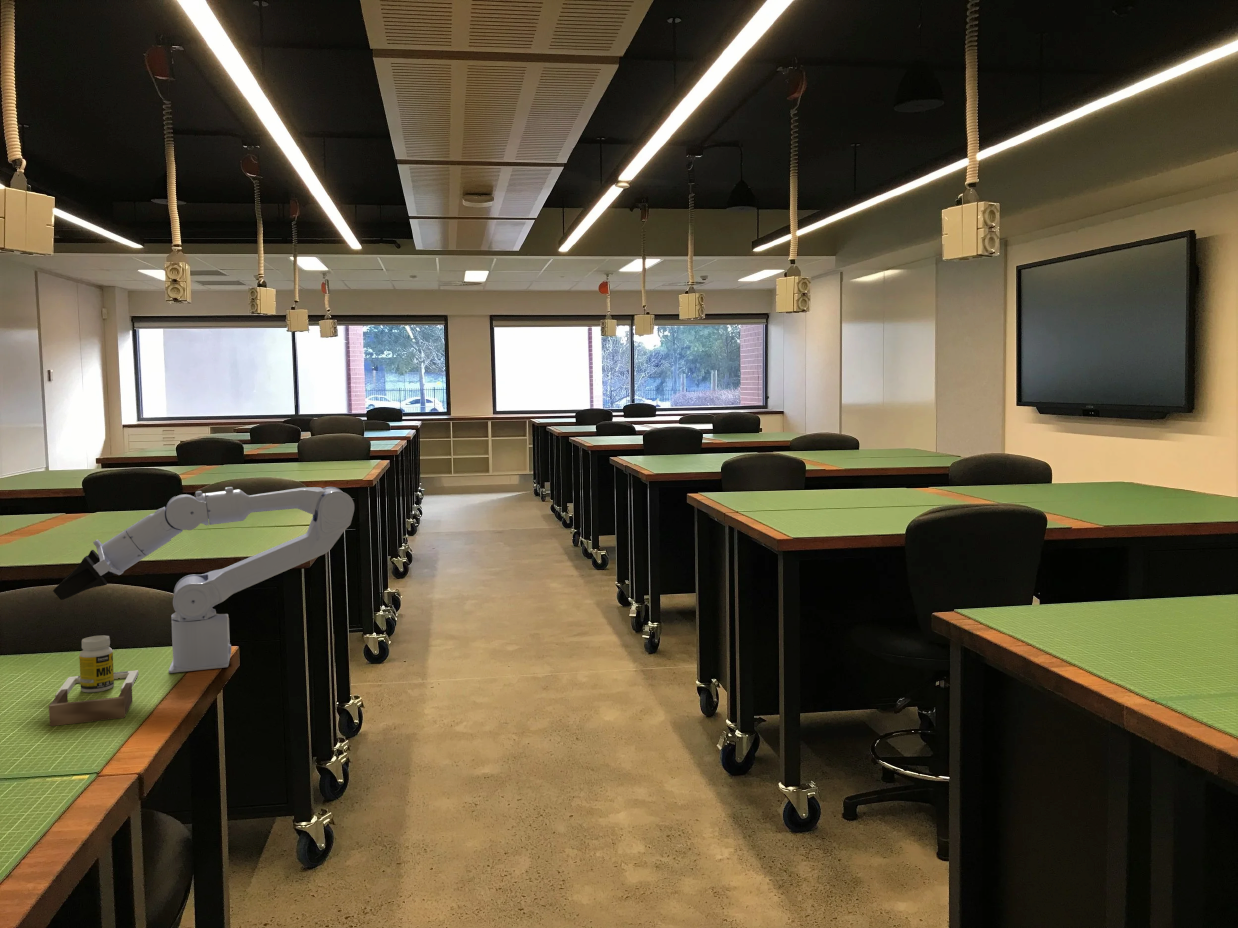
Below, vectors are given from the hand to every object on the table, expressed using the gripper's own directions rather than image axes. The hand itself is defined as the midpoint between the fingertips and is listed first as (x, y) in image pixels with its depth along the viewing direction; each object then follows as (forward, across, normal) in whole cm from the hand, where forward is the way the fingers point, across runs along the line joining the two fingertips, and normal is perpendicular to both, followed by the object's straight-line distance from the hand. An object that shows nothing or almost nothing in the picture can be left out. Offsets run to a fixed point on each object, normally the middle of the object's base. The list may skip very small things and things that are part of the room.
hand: (60, 591), depth 149 cm
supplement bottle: (+4, +6, +16) cm, 18 cm away
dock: (+4, +6, +16) cm, 18 cm away
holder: (+3, +19, +17) cm, 25 cm away
